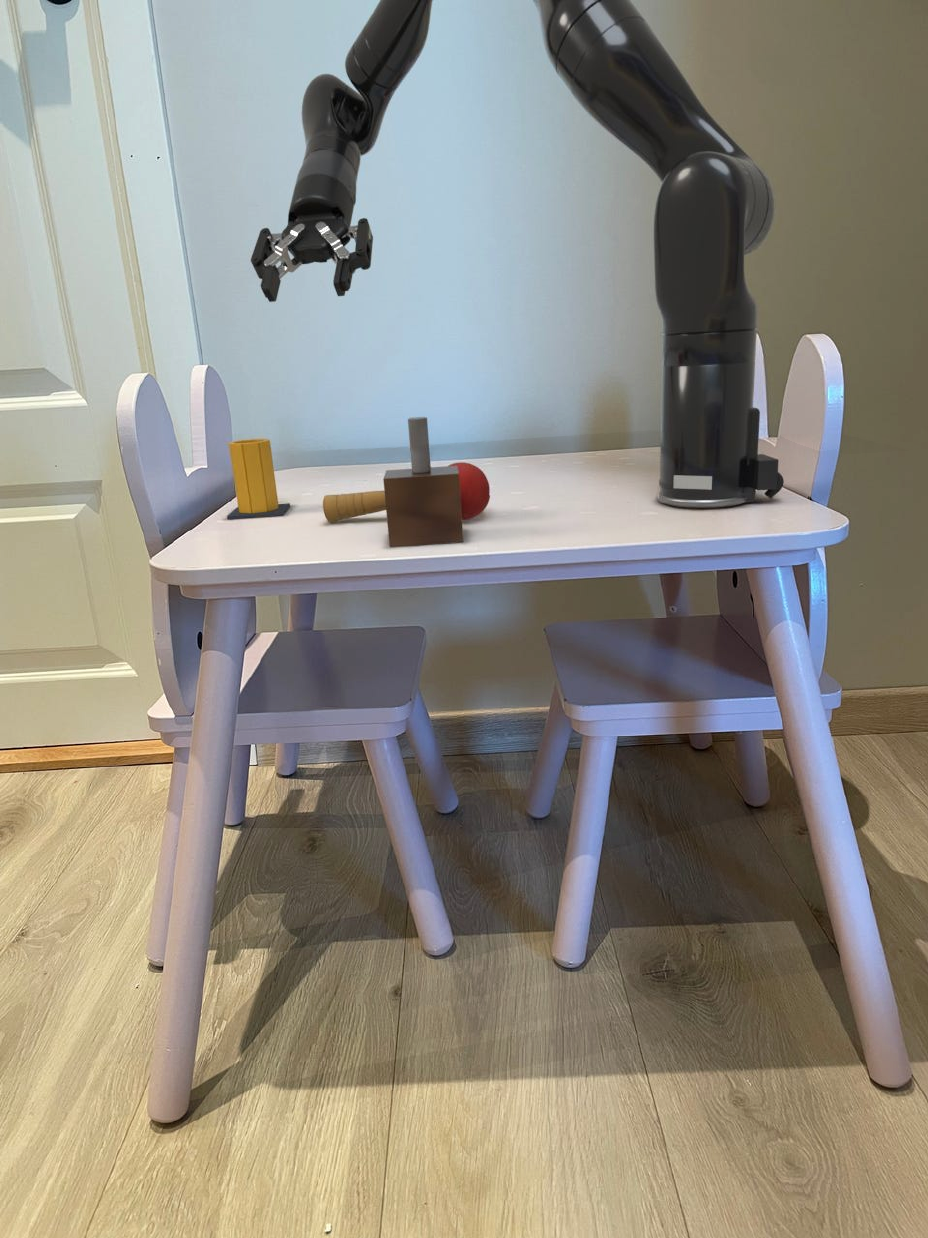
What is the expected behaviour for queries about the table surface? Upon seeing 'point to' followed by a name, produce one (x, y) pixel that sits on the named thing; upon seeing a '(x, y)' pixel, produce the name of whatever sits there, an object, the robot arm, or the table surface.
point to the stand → (422, 497)
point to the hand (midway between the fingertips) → (303, 293)
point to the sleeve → (253, 475)
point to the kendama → (358, 504)
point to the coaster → (276, 512)
